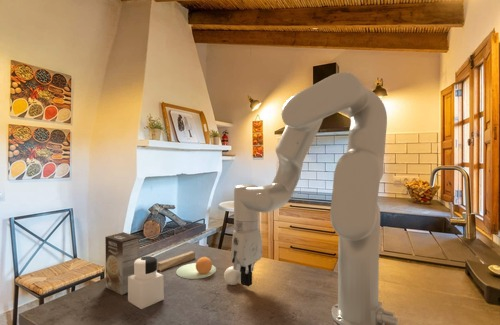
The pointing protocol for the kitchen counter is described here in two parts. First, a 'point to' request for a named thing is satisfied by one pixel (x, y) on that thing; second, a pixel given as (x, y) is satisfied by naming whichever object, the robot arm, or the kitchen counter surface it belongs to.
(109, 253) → the coffee box
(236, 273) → the cue ball
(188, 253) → the rail
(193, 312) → the kitchen counter surface
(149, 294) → the medicine bottle
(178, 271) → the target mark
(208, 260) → the object ball
